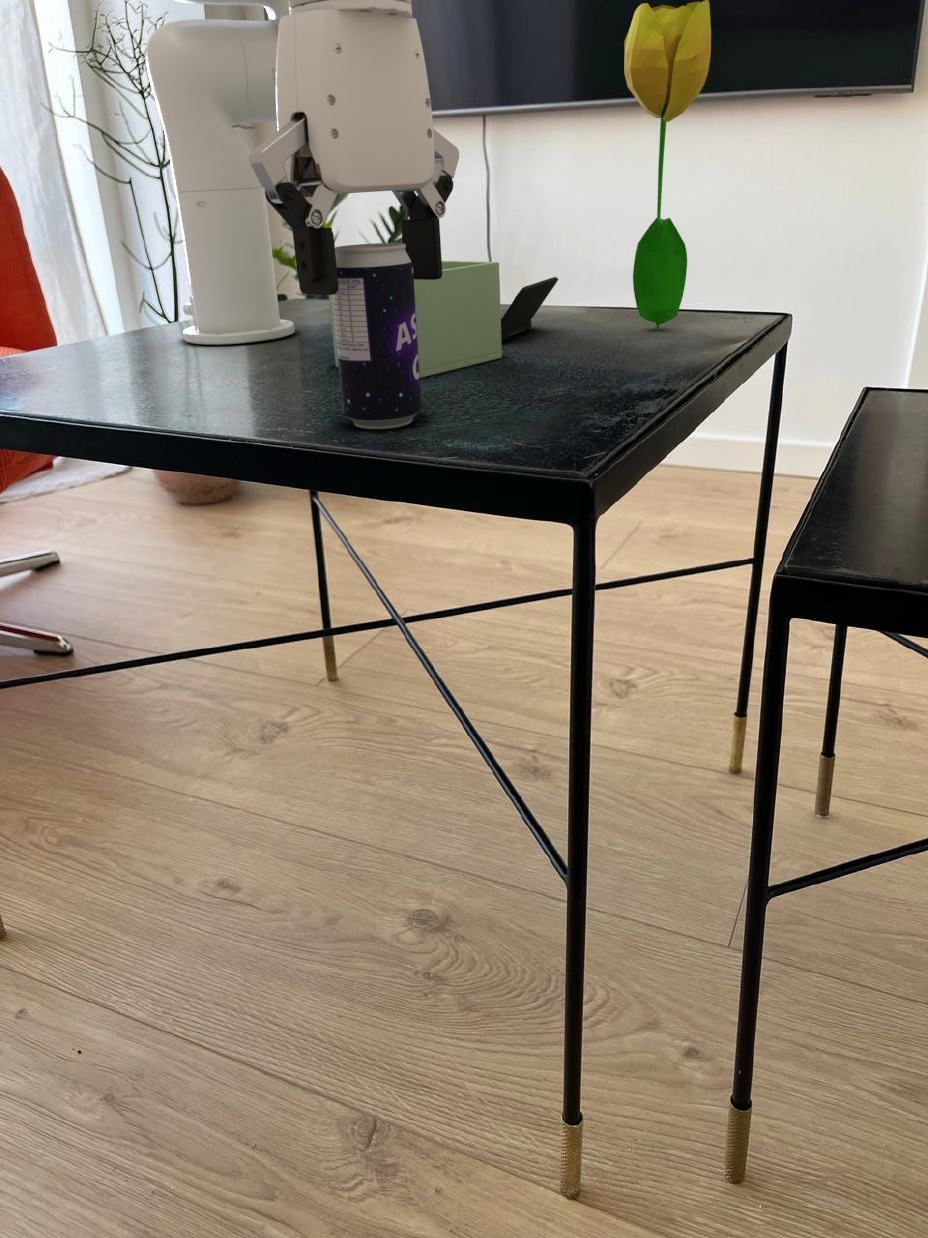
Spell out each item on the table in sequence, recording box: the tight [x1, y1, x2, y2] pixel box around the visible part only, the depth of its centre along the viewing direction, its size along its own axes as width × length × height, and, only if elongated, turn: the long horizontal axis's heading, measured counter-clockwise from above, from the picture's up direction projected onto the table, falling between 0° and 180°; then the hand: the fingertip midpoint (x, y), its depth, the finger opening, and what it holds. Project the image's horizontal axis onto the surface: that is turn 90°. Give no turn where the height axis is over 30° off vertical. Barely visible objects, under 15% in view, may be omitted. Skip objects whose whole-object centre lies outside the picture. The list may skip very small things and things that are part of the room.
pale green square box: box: [328, 260, 503, 379], centre depth 91 cm, size 11×11×9 cm
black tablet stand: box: [501, 276, 559, 342], centre depth 104 cm, size 12×7×10 cm
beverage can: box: [332, 242, 423, 430], centre depth 69 cm, size 6×6×12 cm
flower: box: [623, 0, 712, 331], centre depth 98 cm, size 9×8×30 cm
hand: (374, 285), depth 67 cm, fingers open, 9 cm apart
